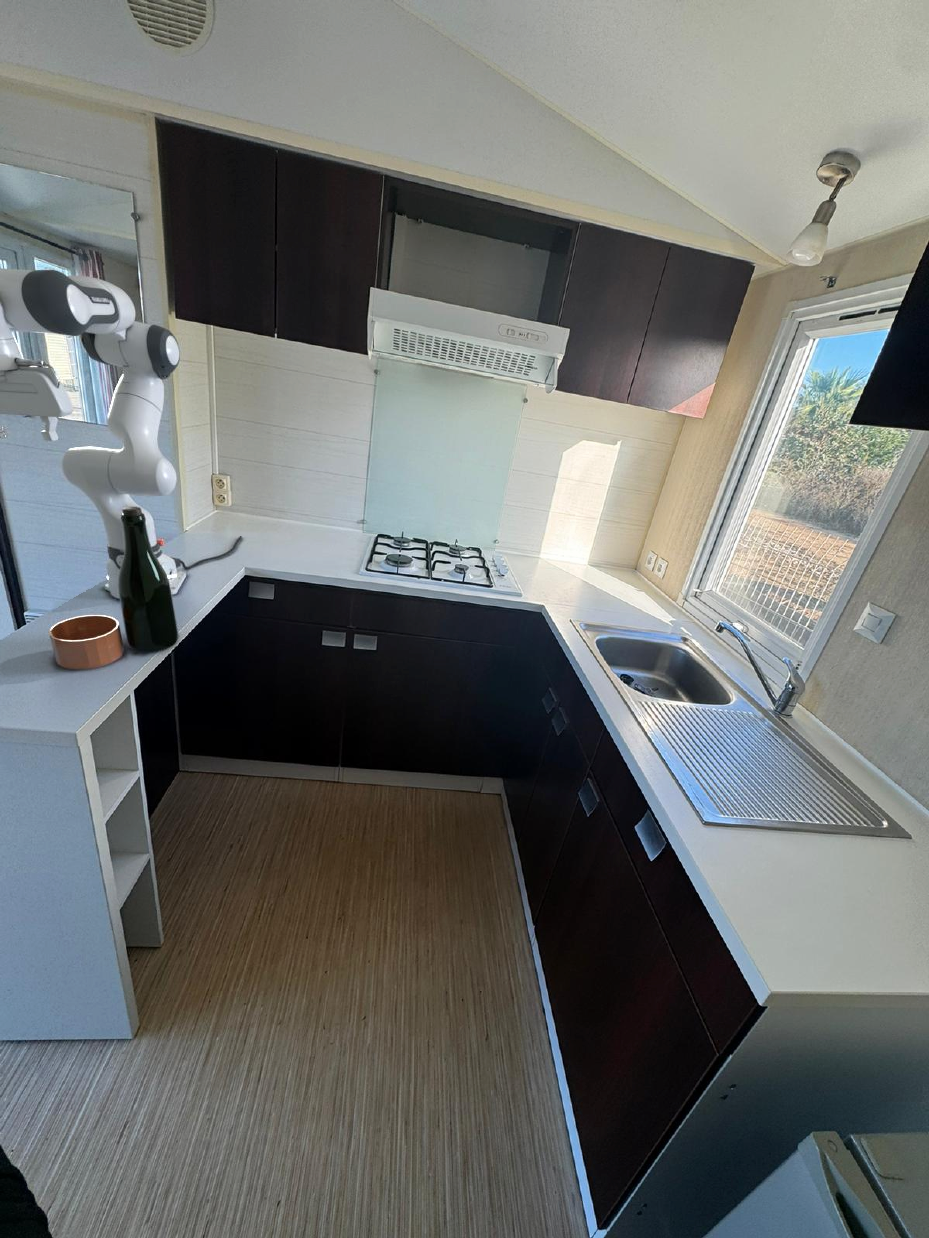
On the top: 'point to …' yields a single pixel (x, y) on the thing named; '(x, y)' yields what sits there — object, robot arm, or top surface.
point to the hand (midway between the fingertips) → (26, 439)
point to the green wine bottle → (144, 590)
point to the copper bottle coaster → (86, 641)
